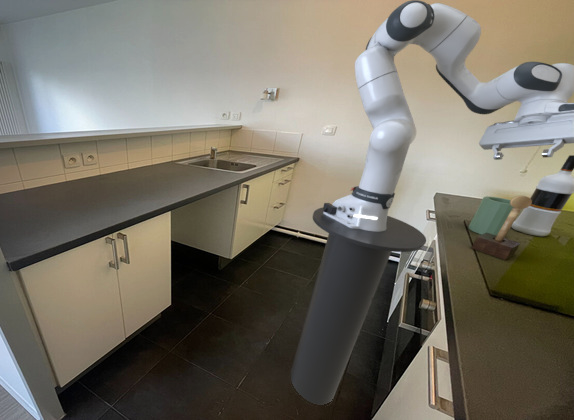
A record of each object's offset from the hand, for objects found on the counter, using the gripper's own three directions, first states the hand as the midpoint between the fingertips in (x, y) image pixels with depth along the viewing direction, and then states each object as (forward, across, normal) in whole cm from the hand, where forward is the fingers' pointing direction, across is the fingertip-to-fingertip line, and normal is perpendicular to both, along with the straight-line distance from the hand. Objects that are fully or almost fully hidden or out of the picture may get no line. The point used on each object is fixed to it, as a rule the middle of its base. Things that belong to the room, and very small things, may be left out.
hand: (520, 157), depth 73 cm
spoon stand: (+26, -3, +15) cm, 30 cm away
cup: (+15, -12, +30) cm, 35 cm away
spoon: (+26, -3, +15) cm, 30 cm away
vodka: (+6, -7, +47) cm, 48 cm away
